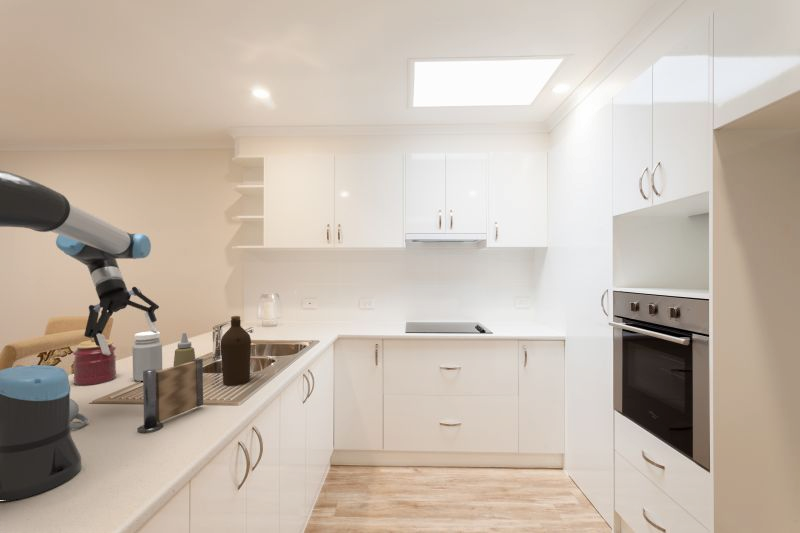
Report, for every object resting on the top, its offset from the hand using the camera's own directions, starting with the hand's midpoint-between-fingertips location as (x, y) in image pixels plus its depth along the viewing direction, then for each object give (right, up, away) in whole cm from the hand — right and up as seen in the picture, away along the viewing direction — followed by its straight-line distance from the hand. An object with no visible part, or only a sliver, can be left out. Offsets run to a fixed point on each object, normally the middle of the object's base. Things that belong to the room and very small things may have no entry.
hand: (131, 342), depth 114 cm
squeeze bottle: (-3, -21, +33) cm, 39 cm away
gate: (+16, -20, -2) cm, 26 cm away
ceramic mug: (-12, -22, -10) cm, 27 cm away
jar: (-18, -21, +35) cm, 45 cm away
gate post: (+13, -21, -10) cm, 27 cm away
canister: (-37, -21, +33) cm, 54 cm away
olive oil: (+19, -21, +29) cm, 41 cm away
